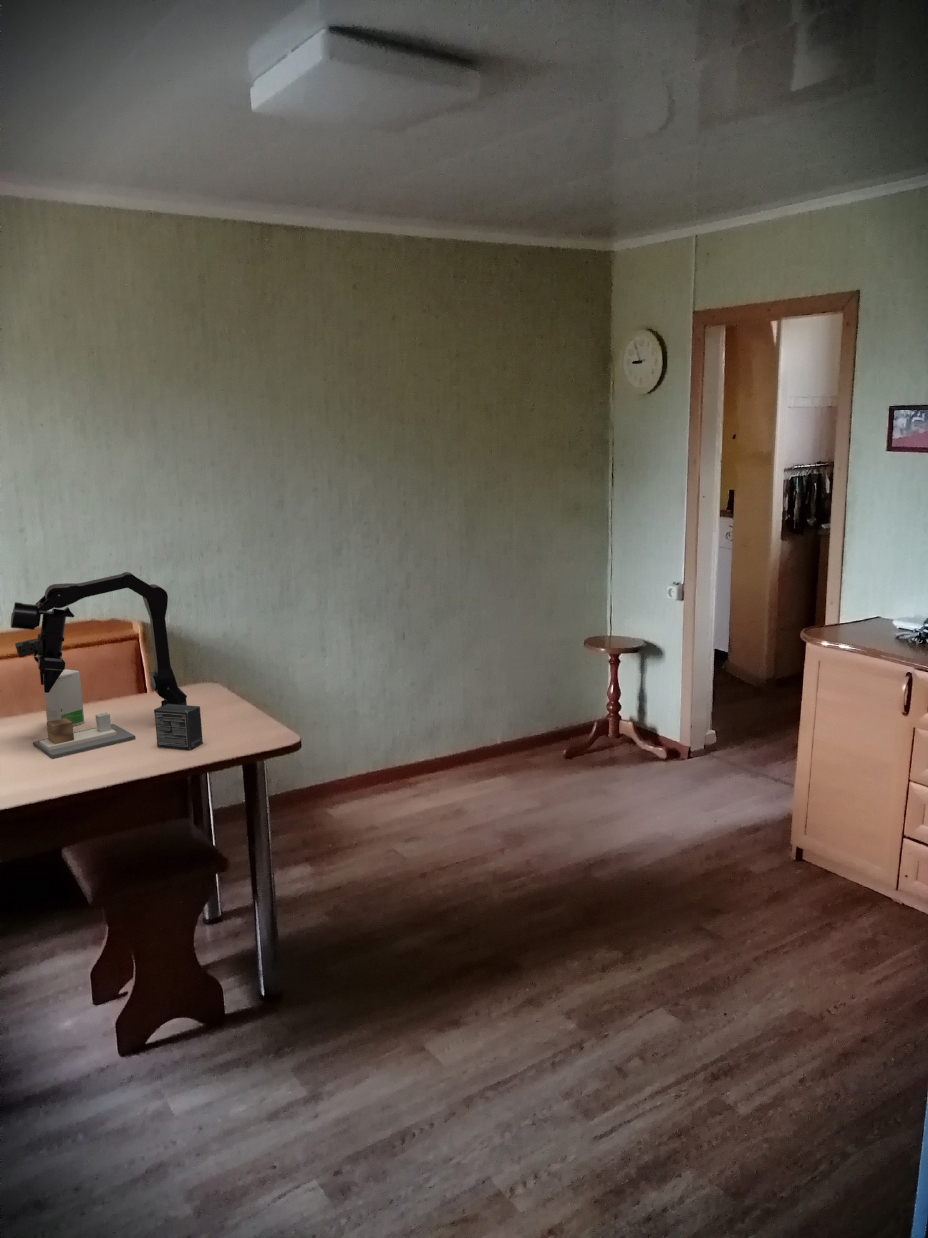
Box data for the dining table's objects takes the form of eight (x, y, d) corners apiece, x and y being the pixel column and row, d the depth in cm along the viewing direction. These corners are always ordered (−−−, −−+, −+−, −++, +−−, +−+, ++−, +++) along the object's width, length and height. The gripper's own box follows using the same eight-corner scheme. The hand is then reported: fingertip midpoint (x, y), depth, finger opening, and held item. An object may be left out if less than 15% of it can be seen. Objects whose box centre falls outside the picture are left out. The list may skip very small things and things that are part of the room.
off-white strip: (106, 729, 268) (104, 710, 267) (116, 735, 262) (114, 715, 261) (39, 744, 256) (37, 724, 255) (48, 750, 251) (46, 730, 250)
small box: (204, 743, 258) (201, 705, 256) (190, 751, 252) (187, 712, 250) (171, 739, 261) (167, 702, 259) (156, 747, 255) (152, 709, 253)
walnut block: (67, 735, 260) (65, 718, 259) (74, 740, 256) (72, 722, 255) (48, 740, 256) (46, 722, 255) (54, 744, 253) (52, 726, 252)
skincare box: (60, 730, 271) (54, 677, 268) (46, 727, 274) (39, 674, 271) (86, 722, 278) (80, 670, 275) (71, 719, 281) (65, 667, 278)
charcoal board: (113, 727, 273) (113, 723, 273) (135, 739, 262) (135, 735, 262) (33, 745, 259) (32, 741, 259) (52, 758, 248) (52, 755, 248)
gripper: (16, 622, 261) (9, 678, 263) (22, 635, 245) (14, 694, 247) (60, 626, 267) (53, 681, 268) (69, 639, 251) (61, 697, 252)
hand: (44, 688), depth 259 cm, fingers open, 9 cm apart
